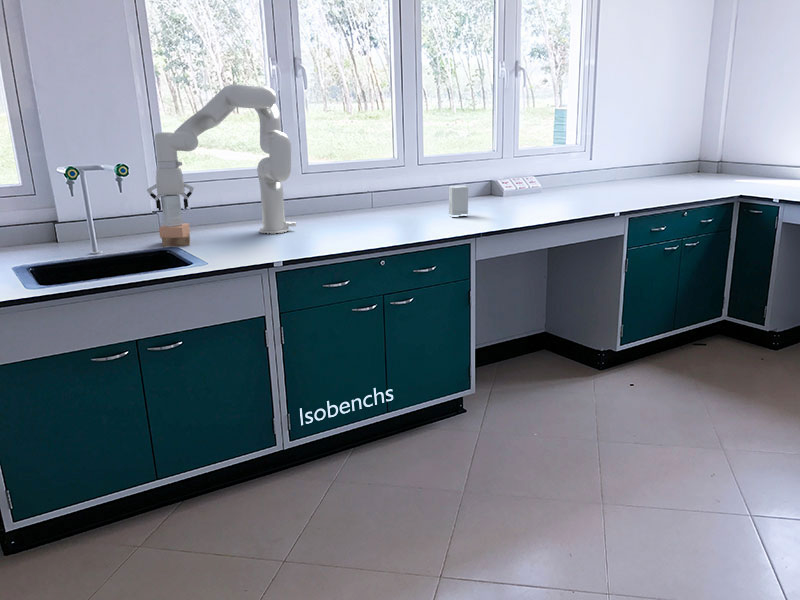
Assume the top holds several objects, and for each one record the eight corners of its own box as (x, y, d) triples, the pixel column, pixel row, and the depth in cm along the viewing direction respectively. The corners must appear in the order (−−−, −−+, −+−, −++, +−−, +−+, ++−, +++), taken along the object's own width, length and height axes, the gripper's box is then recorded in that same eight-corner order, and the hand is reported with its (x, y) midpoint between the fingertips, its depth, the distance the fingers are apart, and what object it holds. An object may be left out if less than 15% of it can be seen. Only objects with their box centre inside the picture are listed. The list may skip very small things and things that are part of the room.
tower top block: (190, 233, 265) (188, 223, 264) (183, 237, 257) (182, 227, 255) (167, 233, 265) (166, 223, 264) (160, 237, 257) (159, 227, 255)
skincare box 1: (177, 223, 263) (174, 194, 259) (183, 225, 260) (180, 195, 256) (163, 226, 259) (160, 195, 255) (168, 227, 256) (165, 196, 252)
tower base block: (190, 241, 268) (189, 232, 267) (189, 247, 259) (188, 237, 258) (164, 243, 265) (163, 233, 264) (162, 248, 256) (161, 238, 255)
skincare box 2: (464, 215, 321) (465, 184, 316) (468, 217, 315) (469, 186, 311) (447, 216, 319) (448, 185, 314) (451, 218, 313) (452, 187, 309)
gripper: (191, 163, 258) (195, 207, 263) (145, 165, 254) (150, 209, 259) (191, 165, 251) (195, 209, 256) (143, 167, 247) (148, 212, 252)
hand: (172, 209), depth 258 cm, fingers open, 9 cm apart
